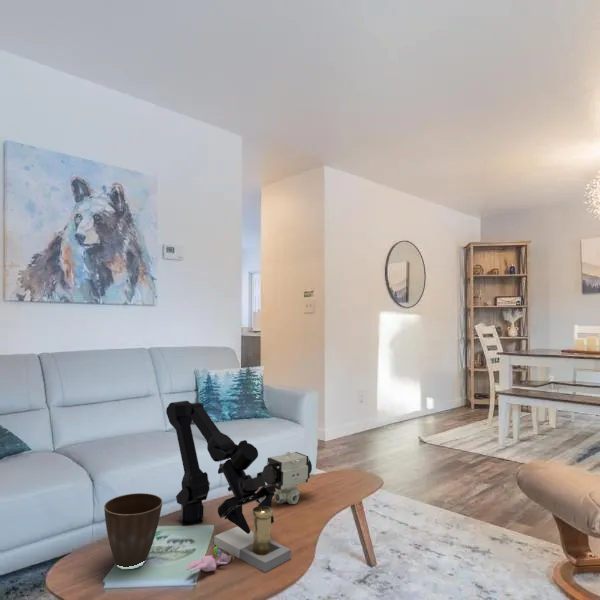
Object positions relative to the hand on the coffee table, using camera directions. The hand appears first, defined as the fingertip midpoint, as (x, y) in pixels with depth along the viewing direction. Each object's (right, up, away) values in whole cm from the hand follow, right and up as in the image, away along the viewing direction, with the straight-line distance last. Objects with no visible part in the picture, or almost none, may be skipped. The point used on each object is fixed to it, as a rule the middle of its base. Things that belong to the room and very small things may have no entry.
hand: (261, 527), depth 134 cm
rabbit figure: (-13, -8, -8) cm, 17 cm away
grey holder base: (-4, -8, +3) cm, 9 cm away
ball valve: (+7, -10, +39) cm, 41 cm away
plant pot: (-35, -7, -6) cm, 36 cm away
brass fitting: (0, -8, -1) cm, 8 cm away
